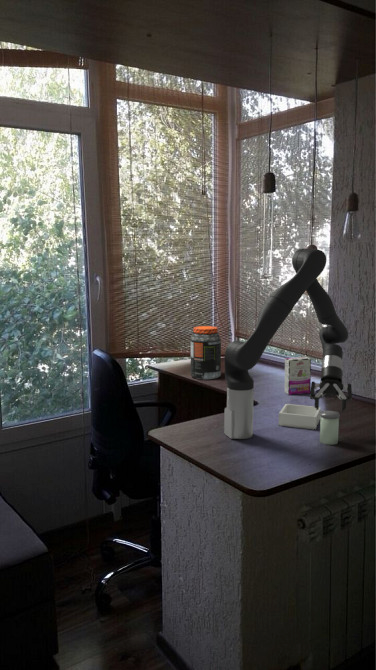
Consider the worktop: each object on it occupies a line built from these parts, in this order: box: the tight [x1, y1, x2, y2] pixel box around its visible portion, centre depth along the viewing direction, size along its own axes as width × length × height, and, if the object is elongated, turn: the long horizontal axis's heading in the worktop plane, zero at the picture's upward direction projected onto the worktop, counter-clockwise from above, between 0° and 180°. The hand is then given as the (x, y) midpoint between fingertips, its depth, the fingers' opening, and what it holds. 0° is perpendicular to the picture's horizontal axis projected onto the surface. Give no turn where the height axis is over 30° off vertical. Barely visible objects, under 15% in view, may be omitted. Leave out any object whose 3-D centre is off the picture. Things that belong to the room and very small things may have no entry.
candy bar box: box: [284, 356, 312, 396], centre depth 251 cm, size 11×5×16 cm, turn 105°
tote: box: [278, 403, 322, 431], centre depth 208 cm, size 14×14×5 cm
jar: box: [319, 410, 341, 446], centre depth 186 cm, size 6×6×10 cm
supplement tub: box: [189, 325, 222, 380], centre depth 283 cm, size 16×16×26 cm
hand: (330, 409), depth 190 cm, fingers open, 8 cm apart
